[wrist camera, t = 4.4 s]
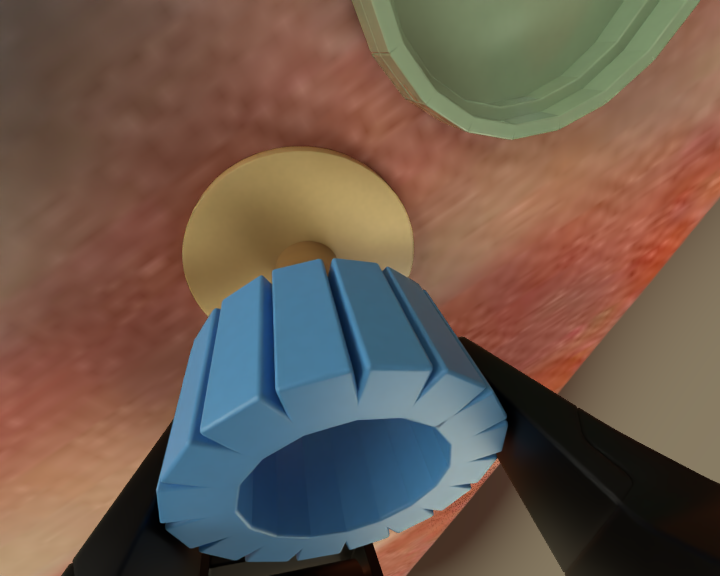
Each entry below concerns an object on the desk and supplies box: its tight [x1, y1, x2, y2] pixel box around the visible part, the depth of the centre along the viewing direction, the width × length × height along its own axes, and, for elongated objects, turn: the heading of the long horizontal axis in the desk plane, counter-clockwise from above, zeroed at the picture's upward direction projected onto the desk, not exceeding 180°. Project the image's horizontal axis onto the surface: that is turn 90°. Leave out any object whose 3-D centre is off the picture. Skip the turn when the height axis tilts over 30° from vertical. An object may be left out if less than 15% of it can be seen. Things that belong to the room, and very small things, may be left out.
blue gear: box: [156, 258, 508, 562], centre depth 9 cm, size 7×7×4 cm
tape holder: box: [182, 146, 414, 317], centre depth 13 cm, size 10×10×5 cm
